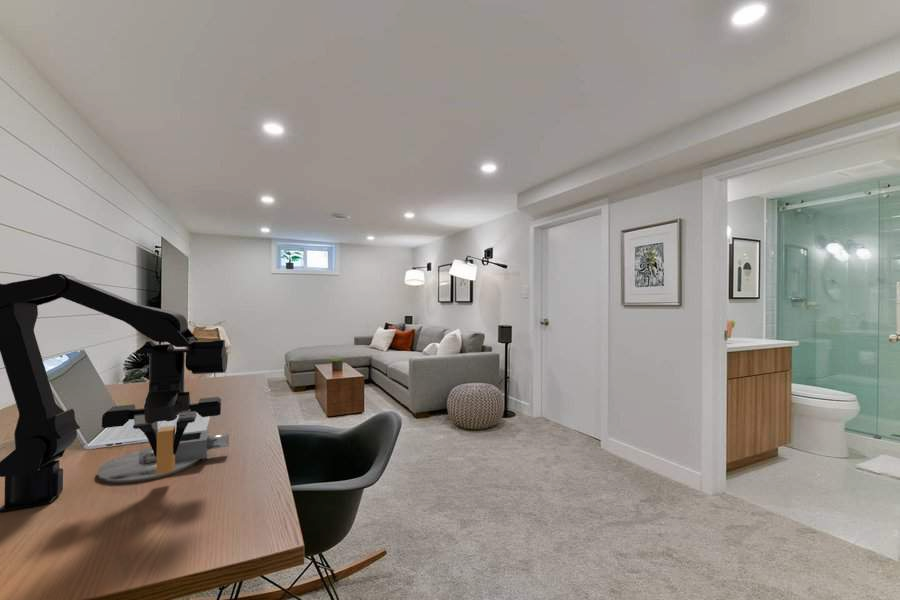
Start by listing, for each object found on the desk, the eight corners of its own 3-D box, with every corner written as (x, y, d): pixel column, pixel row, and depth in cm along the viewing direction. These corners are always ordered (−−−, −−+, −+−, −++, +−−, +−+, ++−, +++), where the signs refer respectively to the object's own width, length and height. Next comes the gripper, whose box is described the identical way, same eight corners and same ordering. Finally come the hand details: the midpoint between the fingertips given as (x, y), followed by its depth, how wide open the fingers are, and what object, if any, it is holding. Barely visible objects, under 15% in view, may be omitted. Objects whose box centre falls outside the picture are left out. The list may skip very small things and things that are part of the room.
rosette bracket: (85, 490, 77) (85, 463, 77) (111, 459, 92) (111, 436, 93) (227, 467, 88) (228, 443, 88) (229, 442, 104) (229, 422, 104)
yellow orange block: (156, 474, 77) (156, 432, 77) (159, 467, 80) (160, 427, 81) (172, 472, 78) (172, 430, 78) (174, 465, 82) (175, 425, 82)
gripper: (93, 387, 68) (91, 480, 68) (219, 377, 77) (219, 460, 77) (110, 377, 78) (109, 458, 78) (221, 370, 87) (220, 442, 86)
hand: (166, 455), depth 79 cm, fingers closed on yellow orange block, 2 cm apart
